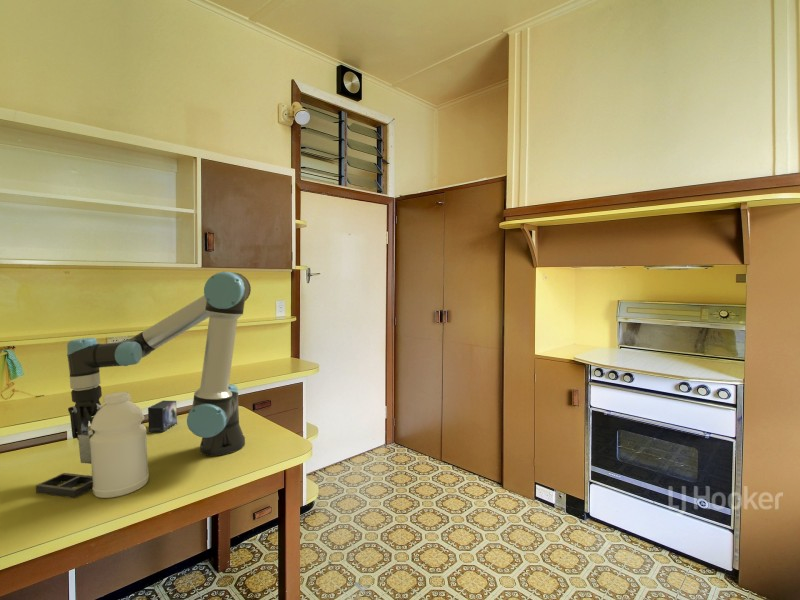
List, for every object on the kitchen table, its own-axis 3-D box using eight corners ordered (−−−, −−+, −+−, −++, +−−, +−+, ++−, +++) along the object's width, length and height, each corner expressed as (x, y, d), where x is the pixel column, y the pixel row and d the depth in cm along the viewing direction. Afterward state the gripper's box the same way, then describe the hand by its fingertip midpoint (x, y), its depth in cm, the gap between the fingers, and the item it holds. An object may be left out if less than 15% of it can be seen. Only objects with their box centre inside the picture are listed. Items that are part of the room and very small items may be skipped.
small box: (163, 432, 164) (162, 407, 164) (147, 433, 165) (146, 407, 164) (178, 423, 175) (177, 399, 175) (163, 423, 175) (162, 400, 175)
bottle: (86, 503, 112) (79, 404, 111) (100, 481, 125) (94, 392, 123) (145, 492, 118) (139, 397, 116) (152, 471, 130) (148, 386, 129)
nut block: (105, 457, 130) (102, 430, 130) (91, 463, 126) (89, 435, 125) (94, 456, 131) (91, 429, 131) (80, 462, 127) (77, 435, 126)
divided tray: (101, 484, 123) (101, 477, 123) (74, 498, 115) (74, 490, 115) (64, 479, 126) (64, 472, 126) (36, 492, 118) (35, 485, 118)
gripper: (119, 384, 129) (125, 455, 130) (76, 383, 133) (83, 452, 134) (96, 391, 122) (103, 466, 123) (52, 390, 126) (59, 463, 127)
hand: (93, 459), depth 129 cm, fingers closed on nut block, 4 cm apart
